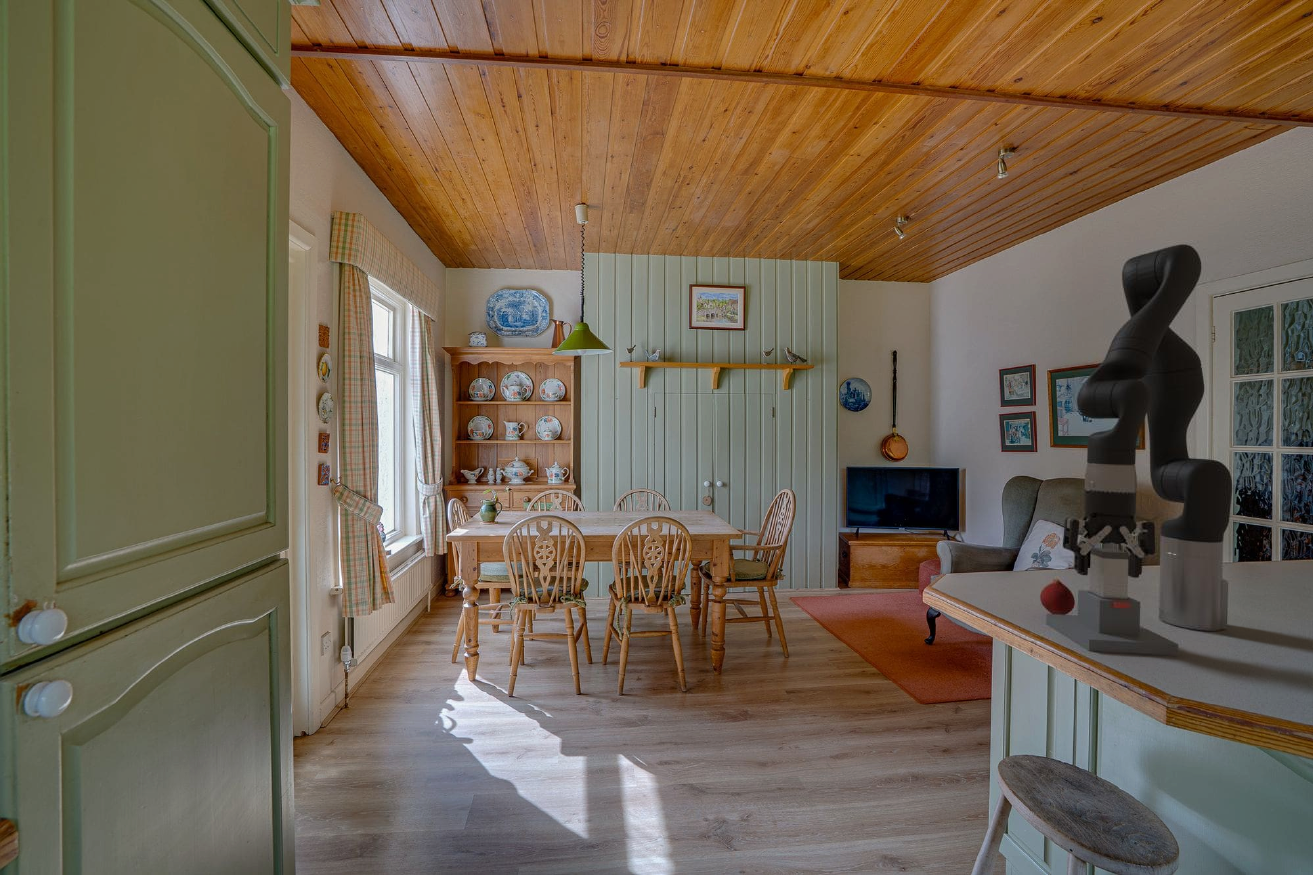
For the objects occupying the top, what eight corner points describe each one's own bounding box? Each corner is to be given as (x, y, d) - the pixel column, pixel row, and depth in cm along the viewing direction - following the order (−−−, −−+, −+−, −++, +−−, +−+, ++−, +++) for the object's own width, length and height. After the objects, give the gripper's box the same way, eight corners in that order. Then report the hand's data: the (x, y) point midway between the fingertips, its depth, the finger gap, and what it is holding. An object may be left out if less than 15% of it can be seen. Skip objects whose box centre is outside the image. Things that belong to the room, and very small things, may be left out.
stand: (1123, 627, 112) (1124, 587, 112) (1178, 655, 98) (1179, 609, 98) (1046, 623, 114) (1046, 583, 114) (1089, 650, 100) (1089, 605, 100)
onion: (1063, 613, 121) (1064, 575, 121) (1080, 622, 115) (1081, 582, 115) (1034, 612, 122) (1035, 574, 122) (1050, 621, 116) (1051, 581, 116)
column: (1112, 623, 108) (1114, 548, 108) (1127, 631, 104) (1128, 552, 104) (1088, 622, 109) (1090, 547, 108) (1102, 630, 105) (1104, 552, 104)
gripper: (1138, 487, 109) (1135, 572, 109) (1056, 485, 111) (1054, 568, 111) (1167, 491, 101) (1164, 583, 102) (1079, 489, 103) (1077, 578, 104)
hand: (1107, 575), depth 106 cm, fingers open, 8 cm apart
